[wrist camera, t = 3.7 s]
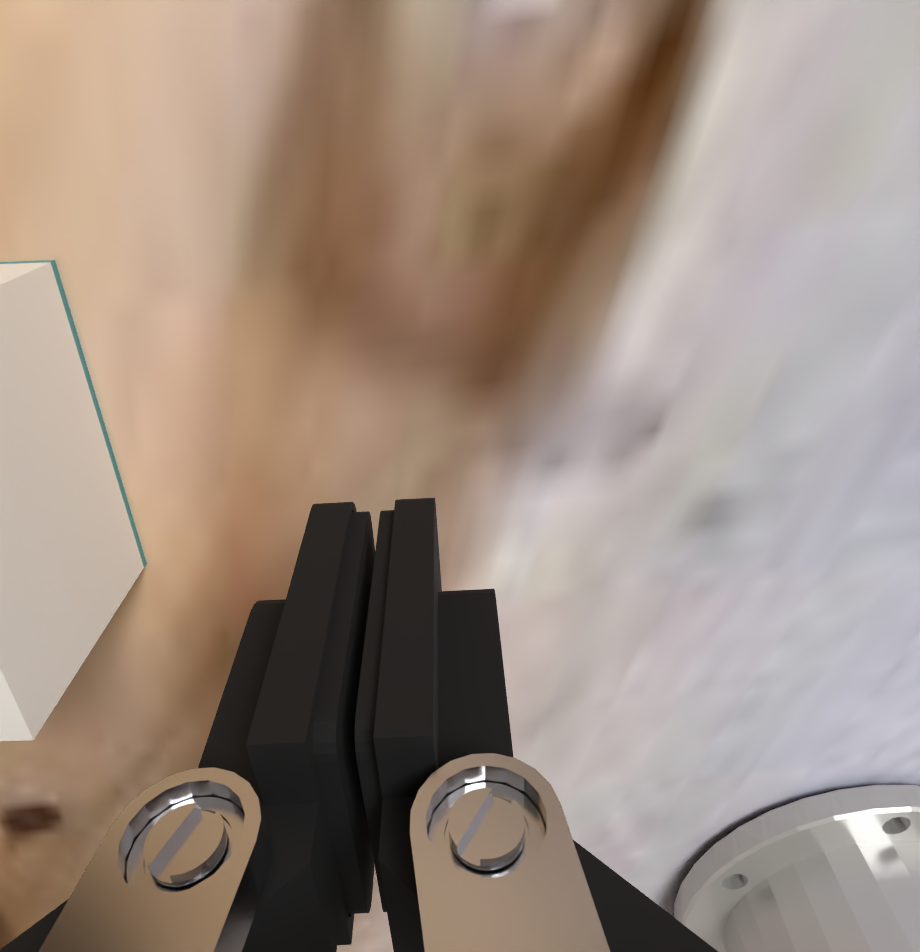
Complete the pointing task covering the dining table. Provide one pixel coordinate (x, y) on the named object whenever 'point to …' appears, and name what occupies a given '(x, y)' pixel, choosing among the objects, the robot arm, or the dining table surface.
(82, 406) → the white block
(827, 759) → the dining table surface
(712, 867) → the robot arm
